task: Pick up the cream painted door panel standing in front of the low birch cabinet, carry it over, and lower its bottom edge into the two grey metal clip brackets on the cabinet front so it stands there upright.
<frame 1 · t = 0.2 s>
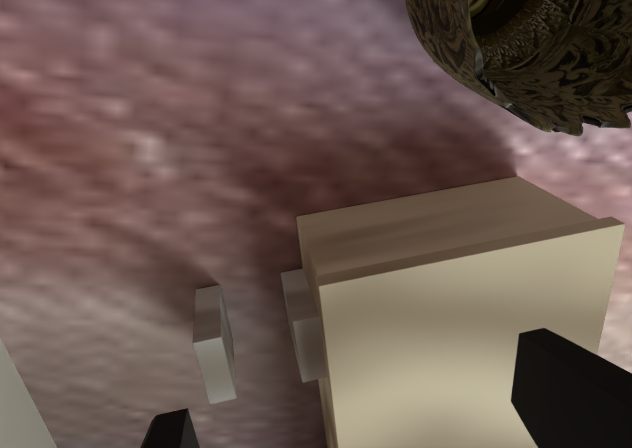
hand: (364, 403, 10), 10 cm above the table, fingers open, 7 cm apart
door: (10, 394, 20), on the table
cabinet: (275, 404, 23), on the table
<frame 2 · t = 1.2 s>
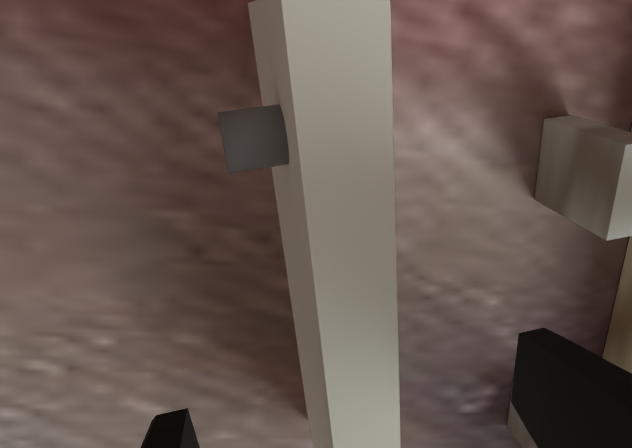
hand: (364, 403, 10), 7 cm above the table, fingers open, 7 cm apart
door: (306, 250, 16), on the table
cabinet: (572, 288, 19), on the table
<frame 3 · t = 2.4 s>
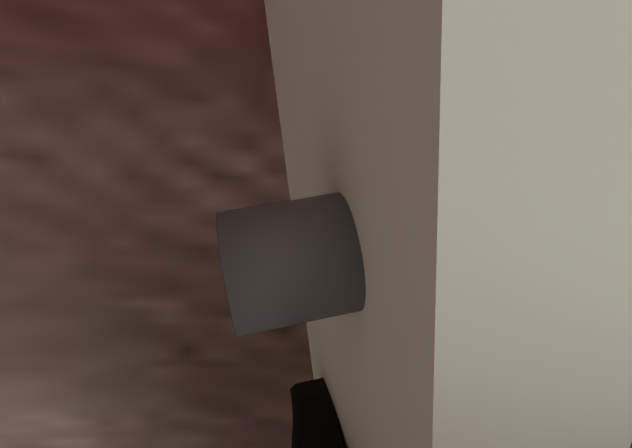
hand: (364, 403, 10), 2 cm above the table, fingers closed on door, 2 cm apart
door: (340, 342, 12), on the table, touching gripper
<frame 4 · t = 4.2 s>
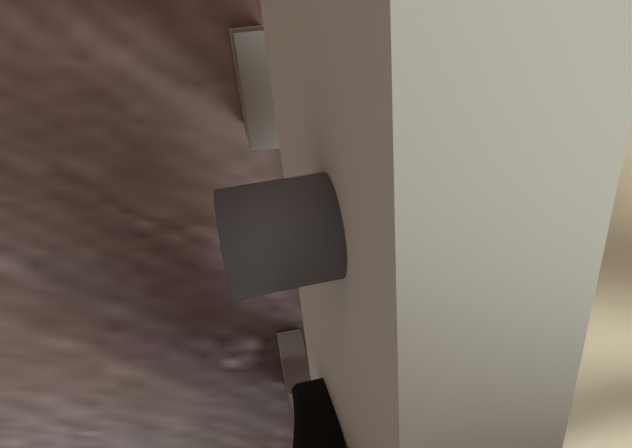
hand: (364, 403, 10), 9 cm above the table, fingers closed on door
door: (334, 326, 12), point 6 cm above the table, touching gripper
cabinet: (320, 230, 18), on the table
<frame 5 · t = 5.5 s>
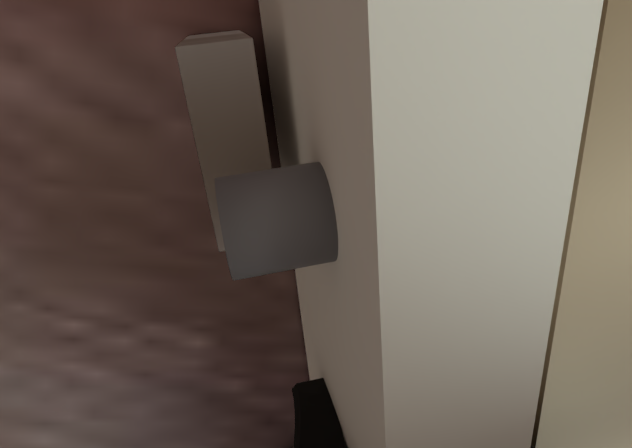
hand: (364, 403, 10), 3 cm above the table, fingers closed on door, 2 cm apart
door: (331, 318, 12), on the table, touching gripper
cabinet: (332, 320, 13), on the table
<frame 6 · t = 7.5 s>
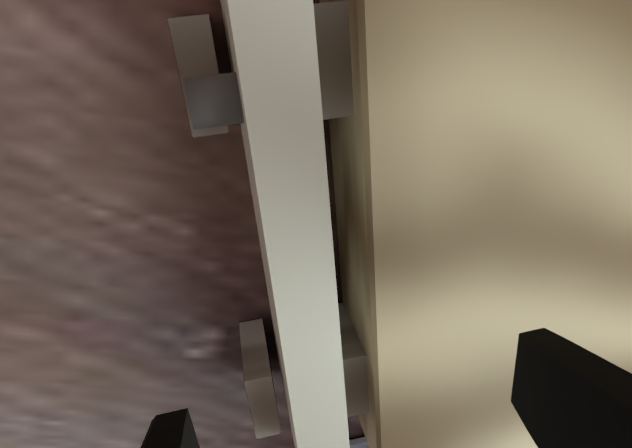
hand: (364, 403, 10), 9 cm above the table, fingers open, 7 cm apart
door: (275, 215, 18), on the table
cabinet: (278, 219, 18), on the table
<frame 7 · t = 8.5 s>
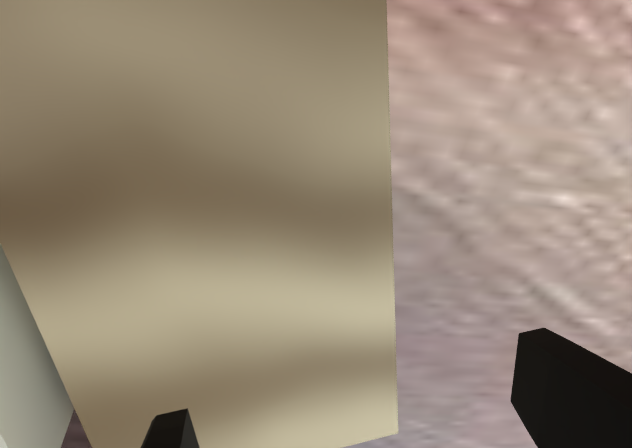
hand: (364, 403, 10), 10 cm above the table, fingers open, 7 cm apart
door: (2, 185, 16), on the table
cabinet: (4, 189, 16), on the table
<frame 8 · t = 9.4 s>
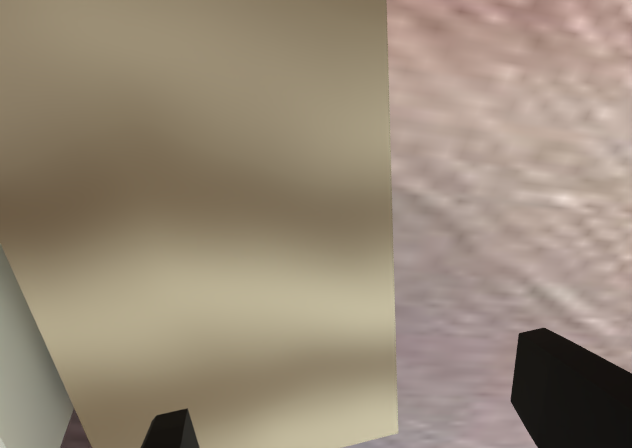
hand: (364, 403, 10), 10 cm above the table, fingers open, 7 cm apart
door: (2, 185, 16), on the table
cabinet: (4, 189, 16), on the table
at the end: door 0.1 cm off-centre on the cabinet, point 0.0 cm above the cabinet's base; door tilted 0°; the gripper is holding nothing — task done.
